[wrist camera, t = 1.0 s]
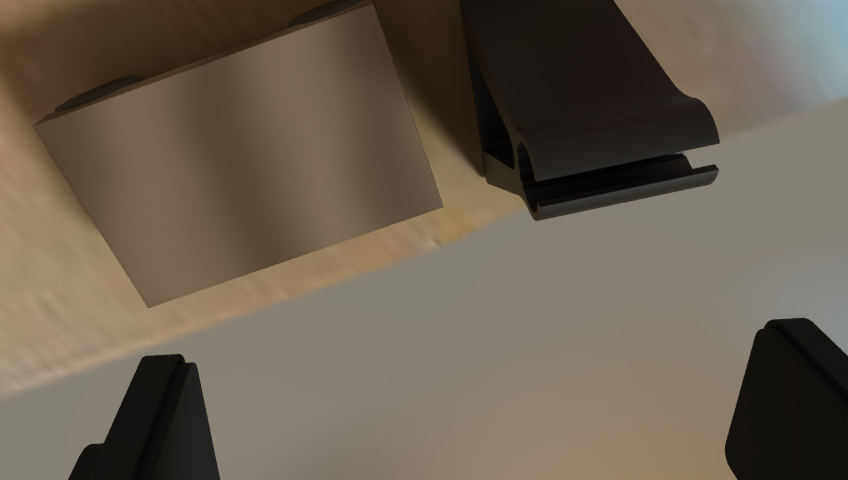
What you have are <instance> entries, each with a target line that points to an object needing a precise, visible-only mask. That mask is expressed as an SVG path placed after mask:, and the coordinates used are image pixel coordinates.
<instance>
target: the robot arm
mask: <svg viewBox="0 0 848 480" xmlns="http://www.w3.org/2000/svg"><path fill="white" fill-rule="evenodd" d="M725 455H726V460H727V463H728V465H729V467H730V469H731V470H732V472H733V473H734V475H735V476H736V478H737V480H848V356H847V355H846V354H845V353H844V352H843V351H842V350H841V349H840V348H839V347H838V346H837V345H836V344H835V343H834V342H833V341H832V340H830V338H829V337H828V336H827V335H826V334H824V333H823V332H822V331H821V330H820V329H819V328H818V327H817V326H816V325H815V324H814V323H813V322H812V321H810V320H809V319H806V318H792V319H776V320H775V319H774V320H770V321H768V322H767V324H766V325H765V327H764V329H760V330H759V331H758V332H757V333H756V336H755V339H754V342H753V346H752V350H751V353H750V357H749V360H748V364H747V368H746V371H745V375H744V378H743V382H742V386H741V389H740V393H739V397H738V400H737V404H736V408H735V412H734V415H733V419H732V422H731V426H730V429H729V433H728V436H727V440H726V444H725ZM68 480H220V476H219V472H218V467H217V462H216V457H215V452H214V447H213V443H212V437H211V433H210V427H209V423H208V418H207V413H206V408H205V403H204V398H203V393H202V388H201V383H200V379H199V374H198V369H197V366H196V364H195V363H193V362H191V363H185V360H184V358H183V356H182V355H181V354H172V355H154V356H145V357H143V358H142V359H141V361H140V363H139V365H138V368H137V370H136V372H135V374H134V377H133V379H132V381H131V383H130V385H129V388H128V390H127V392H126V394H125V397H124V399H123V401H122V403H121V406H120V408H119V410H118V412H117V415H116V417H115V419H114V422H113V424H112V426H111V428H110V430H109V433H108V435H107V437H106V439H105V441H104V443H102V444H90V445H88V446H87V447H86V448H84V450H83V452H82V453H81V455H80V456H79V458H78V460H77V462H76V465H75V467H74V469H73V471H72V473H71V475H70V477H69V479H68Z"/></svg>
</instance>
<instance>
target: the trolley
mask: <svg viewBox="0 0 848 480" xmlns="http://www.w3.org/2000/svg"><path fill="white" fill-rule="evenodd" d="M289 27H290V28H287V29H284V30H281V31H279V32H276V33H273V34H270V35H268V36H265V37H262V38H259V39H257V40H254V41H251V42H248V43H245V44H243V45H240V46H237V47H234V48H232V49H229V50H226V51H223V52H221V53H218V54H215V55H212V56H209V57H207V58H204V59H201V60H198V61H196V62H193V63H190V64H187V65H185V66H182V67H179V68H176V69H173V70H171V71H168V72H165V73H162V74H160V75H157V76H154V77H151V78H149V79H146V80H143V81H141V80H140V78H139V76H138V75H133V76H128V77H124V78H121V79H118V80H115V81H112V82H109V83H106V84H104V85H101V86H99V87H96V88H94V89H91V90H89V91H87V92H85V93H82V94H80V95H78V96H76V97H74V98H72V99H70V100H68V101H67V102H65V103H63V104H62V105H60V106H59V107H57V108H56V109H55V112H54V113H52V114H49V115H47V116H46V117H44V118H43V119H42V120H40V121H39V122H38V123H36V124H35V125H34V126H33V128H34V129H35V131H36V132H37V134H38V135H39V137H40V139H41V140H42V142H43V143H44V145H45V146H46V148H47V150H48V151H49V153H50V154H51V156H52V158H53V159H54V161H55V162H56V164H57V165H58V167H59V169H60V170H61V172H62V173H63V175H64V176H65V178H66V180H67V181H68V183H69V184H70V186H71V187H72V189H73V191H74V192H75V194H76V195H77V197H78V198H79V200H80V202H81V203H82V205H83V206H84V208H85V209H86V211H87V213H88V214H89V216H90V217H91V219H92V220H93V222H94V224H95V225H96V227H97V228H98V230H99V231H100V233H101V235H102V236H103V238H104V239H105V241H106V242H107V244H108V246H109V247H110V249H111V250H112V252H113V253H114V255H115V257H116V258H117V260H118V261H119V263H120V265H121V266H122V268H123V269H124V271H125V272H126V274H127V276H128V277H129V279H130V280H131V282H132V283H133V285H134V287H135V288H136V290H137V291H138V293H139V294H140V296H141V298H142V299H143V301H144V302H145V304H146V305H147V307H148V308H150V307H153V306H156V305H159V304H162V303H165V302H168V301H171V300H174V299H177V298H180V297H182V296H185V295H188V294H191V293H194V292H197V291H200V290H203V289H206V288H209V287H212V286H215V285H217V284H220V283H223V282H226V281H229V280H232V279H235V278H238V277H241V276H244V275H247V274H250V273H252V272H255V271H258V270H261V269H264V268H267V267H270V266H273V265H276V264H279V263H282V262H285V261H287V260H290V259H293V258H296V257H299V256H302V255H305V254H308V253H311V252H314V251H317V250H320V249H322V248H325V247H328V246H331V245H334V244H337V243H340V242H343V241H346V240H349V239H352V238H354V237H357V236H360V235H363V234H366V233H369V232H372V231H375V230H378V229H381V228H384V227H387V226H389V225H392V224H395V223H398V222H401V221H404V220H407V219H410V218H413V217H416V216H419V215H422V214H424V213H427V212H430V211H433V210H436V209H439V208H442V207H443V204H442V201H441V198H440V195H439V192H438V189H437V186H436V183H435V180H434V177H433V174H432V171H431V168H430V166H429V163H428V160H427V157H426V154H425V152H424V149H423V146H422V143H421V140H420V137H419V134H418V131H417V128H416V125H415V123H414V120H413V117H412V114H411V111H410V108H409V105H408V102H407V99H406V96H405V94H404V91H403V88H402V85H401V82H400V79H399V76H398V73H397V70H396V67H395V65H394V62H393V59H392V56H391V53H390V50H389V47H388V44H387V41H386V38H385V35H384V33H383V30H382V26H381V23H380V20H379V17H378V15H377V12H376V9H375V6H374V3H373V0H336V1H333V2H330V3H327V4H325V5H322V6H320V7H317V8H315V9H312V10H310V11H308V12H306V13H304V14H302V15H300V16H298V17H296V18H295V19H293V20H292V21H290V22H289Z"/></svg>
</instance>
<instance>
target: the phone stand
mask: <svg viewBox="0 0 848 480" xmlns="http://www.w3.org/2000/svg"><path fill="white" fill-rule="evenodd" d="M460 6H461V13H462V20H463V27H464V34H465V41H466V47H467V54H468V61H469V68H470V75H471V82H472V89H473V93H474V102H475V109H476V116H477V123H478V130H479V137H480V144H481V150H482V157H483V164H484V171H485V177H486V181H487V183H488V184H490V185H493V186H496V187H498V188H501V189H503V190H506V191H509V192H511V193H514V194H516V195H519V196H520V197H521V198H522V199H523V200H524V202H525V203H526V205H527V207H528V209H529V211H530V213H531V216H532V217H533V219H534V220H535V221H538V220H543V219H548V218H553V217H558V216H563V215H567V214H572V213H577V212H582V211H586V210H591V209H596V208H600V207H606V206H610V205H614V204H619V203H625V202H629V201H634V200H639V199H643V198H648V197H653V196H657V195H662V194H667V193H672V192H677V191H682V190H686V189H691V188H695V187H700V186H705V185H709V184H711V183H712V182H713V181H714V180H715V179H716V177H717V174H718V171H719V169H718V168H717V167H716V165H715V164H714V165H709V166H705V167H700V168H695V169H692V167H691V165H690V164H689V161H688V159H687V157H686V156H685V155H684V152H685V150H690V149H695V148H700V147H705V146H709V145H714V144H719V143H720V142H719V136H718V132H717V128H716V125H715V122H714V119H713V117H712V115H711V113H710V111H709V110H708V108H707V107H706V105H705V104H704V103H703V102H702V101H700V100H699V99H697V98H692V97H689V96H687V95H685V94H684V93H682V92H681V91H680V90H679V89H678V88H677V87H676V86H675V85H674V84H673V82H672V81H671V80H670V78H669V77H668V75H667V74H666V73H665V71H664V70H663V69H662V67H661V66H660V64H659V63H658V62H657V60H656V59H655V57H654V56H653V55H652V53H651V52H650V51H649V49H648V48H647V46H646V45H645V44H644V42H643V41H642V39H641V38H640V37H639V35H638V34H637V33H636V31H635V30H634V28H633V27H632V26H631V24H630V23H629V22H628V20H627V19H626V17H625V16H624V15H623V13H622V12H621V10H620V9H619V8H618V6H617V5H616V4H615V2H614V1H613V0H460Z"/></svg>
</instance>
